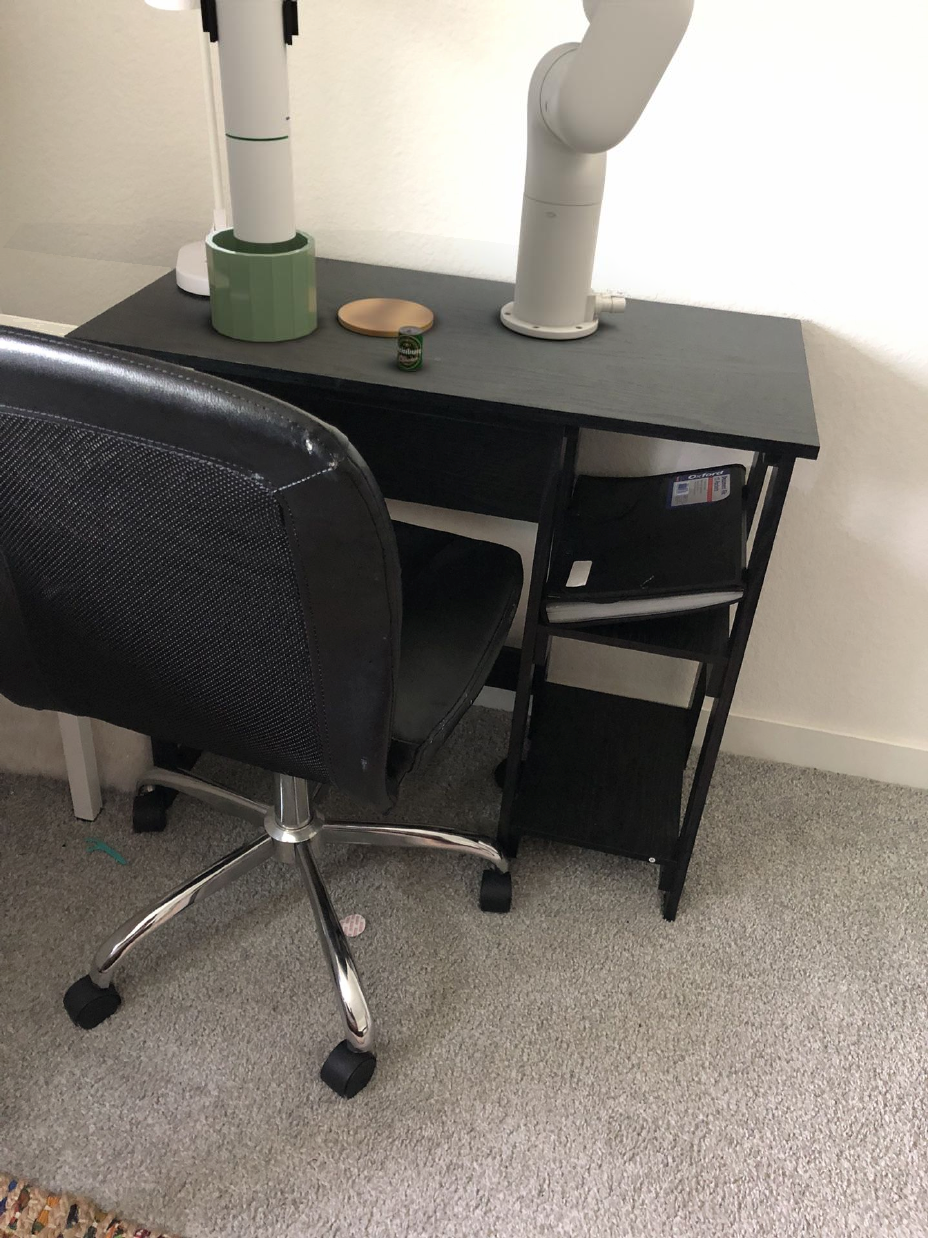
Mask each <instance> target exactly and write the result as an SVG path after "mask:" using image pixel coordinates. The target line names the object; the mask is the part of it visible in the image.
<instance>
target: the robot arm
mask: <svg viewBox="0 0 928 1238" xmlns="http://www.w3.org/2000/svg"><path fill="white" fill-rule="evenodd" d="M581 1H582V8H583V12H584V16H585V17H586V19H587V21H588V23H589V24H588V26H587V28H586V31H585V33H584V35H583V37H582V39H581V41H580V42H579V41H569V42H564V43H561V44H559V45H556V46H554V47H552V48H551V49H550V50H548V51H547V52H546V53H545V54H544V55H543V56H542V57H541V59H539V61H538V62H537V64H536V65H535V67H534V70H533V72H532V74H531V76H530V81H529V85H528V89H527V90H528V91H527V101H526V121H527V122H526V134H527V135H526V138H527V139H526V160H525V162H526V163H525V172H524V184H523V185H524V186H523V193H522V206H521V215H520V228H519V239H518V250H517V262H516V273H515V283H514V295H513V301H510V302H507V303H506V304H505V305H504V306H502V308H501V309H500V316H499V318H500V321H501V323H502V324H503V325H504V326H505V327H506V328H508V329H509V330H511V331H514V332H516V333H518V334H522V335H525V336H528V337H533V338H537V339H546V340H572V339H573V340H574V339H580V338H584V337H587V336H590V335H591V334H593V333H595V331H596V330H597V329H598V327H599V317H598V316H600V315H601V314H602V313H609V314H624V313H625V311H626V306H627V302H626V298H625V297H618V296H617V297H615V296H614V297H613V296H612V294H611V293H610V292H600V293H595V291H594V290H593V288H592V280H593V279H592V278H593V274H594V273H593V272H594V265H595V257H596V250H597V241H598V236H599V234H598V233H599V226H600V220H601V213H602V204H603V199H604V192H605V184H606V174H607V162H608V161H607V157H608V151H610V150H612V149H614V148H616V147H617V146H618V145H620V144H621V143H622V142H623V141H624V140H625V139H626V138H627V137H628V135H630V134H631V132H632V130H633V129H634V127H635V126H636V124H637V123H638V121H639V120H640V118H641V116H642V114H643V112H644V111H645V109H646V108H647V106H648V103H649V102H650V100H651V99H652V96H653V95H654V93H655V91H656V89H657V87H658V86H659V84H660V82H661V80H662V78H663V77H664V74H665V73H666V71H667V69H668V67H669V65H670V64H671V61H672V60H673V57H674V56H675V54H676V53H677V50H678V48H679V47H680V44H681V42H682V41H683V39H684V37H685V35H686V32H687V30H688V27H689V25H690V22H691V19H692V15H693V10H694V7H695V0H581ZM199 5H200V15H201V25H202V26H201V27H202V33H208V34H209V43H211V44H212V43H213V44H215V43H216V42H218V40H217V28H216V16H215V4H214V0H199ZM298 9H299V8H298V0H284V22H285V42H286V45H287V46H293V37H294V36H295V37H299V36H300V33H299V31H300V29H299V11H298Z"/></svg>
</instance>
